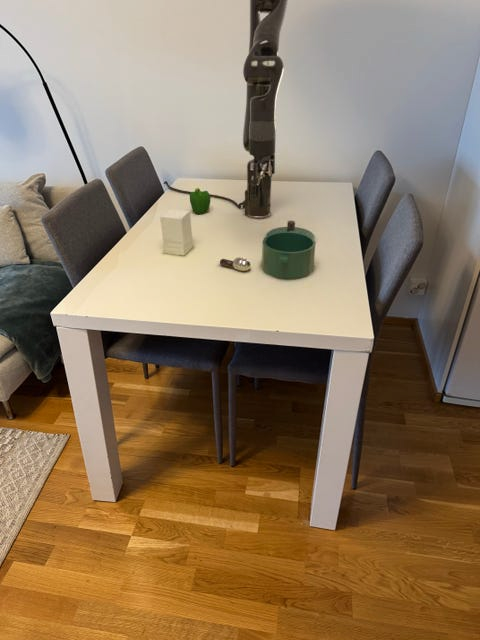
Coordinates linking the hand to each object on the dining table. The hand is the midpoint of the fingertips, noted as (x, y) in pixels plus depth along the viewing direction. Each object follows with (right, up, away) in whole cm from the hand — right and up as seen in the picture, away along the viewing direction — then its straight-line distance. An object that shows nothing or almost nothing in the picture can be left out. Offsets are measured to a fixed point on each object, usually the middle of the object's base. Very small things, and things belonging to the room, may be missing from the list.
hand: (261, 193), depth 135 cm
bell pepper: (-22, +5, +43) cm, 49 cm away
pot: (+8, -22, +2) cm, 24 cm away
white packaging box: (-27, -15, +13) cm, 34 cm away
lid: (+11, -9, +20) cm, 25 cm away
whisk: (-8, -22, +2) cm, 24 cm away
